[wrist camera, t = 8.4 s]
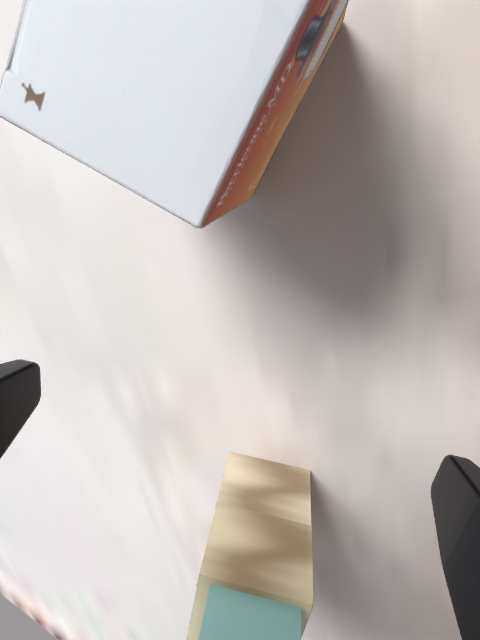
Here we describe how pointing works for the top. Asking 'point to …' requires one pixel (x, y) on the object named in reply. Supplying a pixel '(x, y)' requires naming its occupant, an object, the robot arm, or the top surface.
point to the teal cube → (248, 617)
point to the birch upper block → (256, 561)
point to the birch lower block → (267, 488)
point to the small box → (167, 89)
